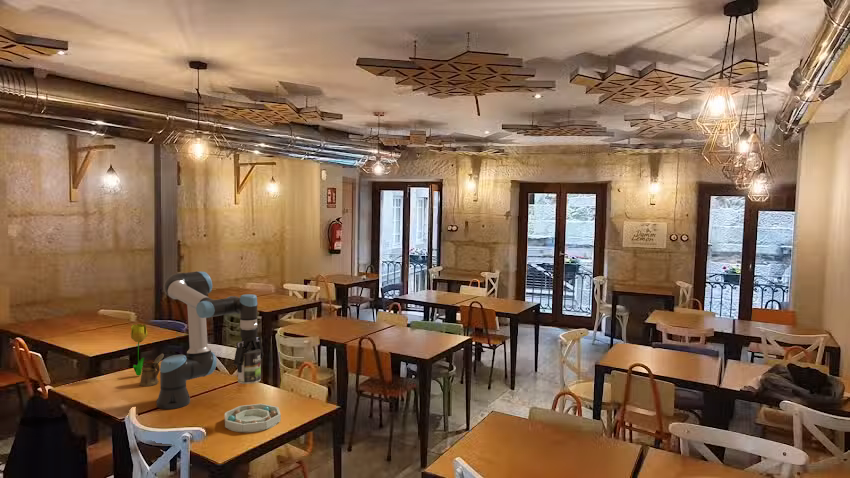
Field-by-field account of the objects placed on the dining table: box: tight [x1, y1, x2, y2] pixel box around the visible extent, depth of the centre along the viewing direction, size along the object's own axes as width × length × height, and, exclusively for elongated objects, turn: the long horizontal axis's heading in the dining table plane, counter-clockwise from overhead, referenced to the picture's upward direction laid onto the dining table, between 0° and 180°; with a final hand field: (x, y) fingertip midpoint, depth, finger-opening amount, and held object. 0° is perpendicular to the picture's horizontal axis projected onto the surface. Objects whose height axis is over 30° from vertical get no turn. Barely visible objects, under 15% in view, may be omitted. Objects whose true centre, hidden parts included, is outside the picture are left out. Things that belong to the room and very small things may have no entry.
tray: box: [224, 403, 282, 433], centre depth 252 cm, size 24×24×4 cm
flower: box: [130, 323, 149, 377], centre depth 312 cm, size 9×8×30 cm
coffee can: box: [237, 348, 262, 385], centre depth 253 cm, size 10×10×14 cm
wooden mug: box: [139, 352, 165, 387], centre depth 300 cm, size 9×14×18 cm, turn 75°
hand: (249, 375), depth 253 cm, fingers closed on coffee can, 10 cm apart
